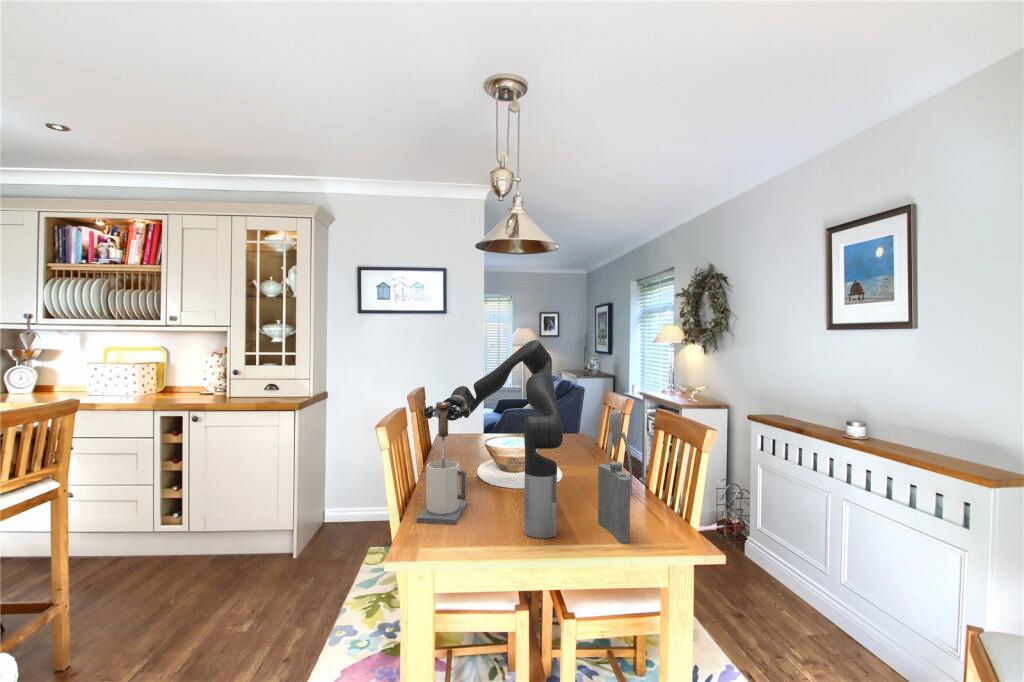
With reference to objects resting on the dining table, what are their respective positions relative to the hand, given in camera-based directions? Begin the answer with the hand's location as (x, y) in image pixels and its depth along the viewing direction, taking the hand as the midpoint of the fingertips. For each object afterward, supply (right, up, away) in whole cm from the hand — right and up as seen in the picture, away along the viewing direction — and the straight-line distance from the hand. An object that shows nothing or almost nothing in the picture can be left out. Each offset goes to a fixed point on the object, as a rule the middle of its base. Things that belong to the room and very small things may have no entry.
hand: (441, 415), depth 154 cm
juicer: (+59, -31, +21) cm, 69 cm away
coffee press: (0, -31, +3) cm, 31 cm away
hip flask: (+51, -32, -10) cm, 61 cm away
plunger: (0, -19, +2) cm, 19 cm away
